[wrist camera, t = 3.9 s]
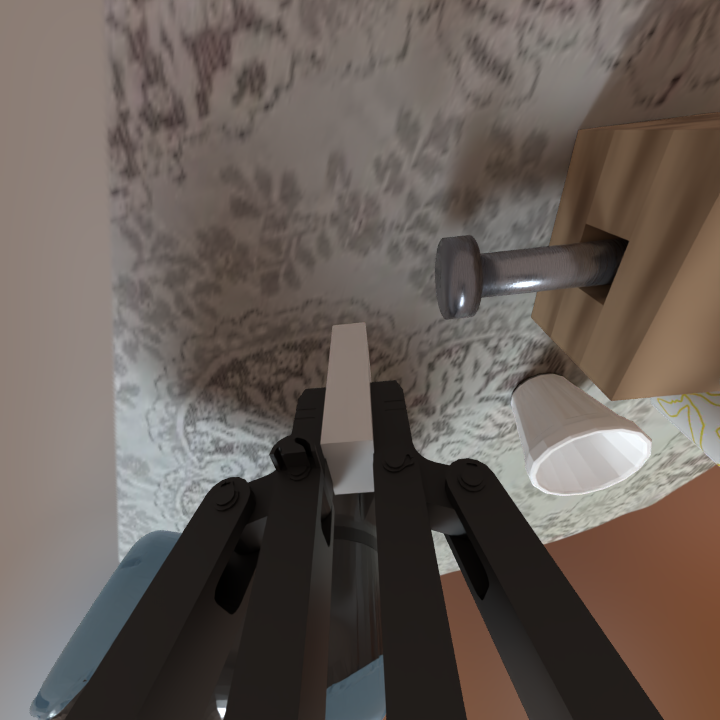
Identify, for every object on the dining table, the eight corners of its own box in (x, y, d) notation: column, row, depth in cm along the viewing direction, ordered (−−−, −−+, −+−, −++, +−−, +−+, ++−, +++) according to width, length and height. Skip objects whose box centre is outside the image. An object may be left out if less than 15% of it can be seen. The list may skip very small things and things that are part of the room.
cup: (569, 340, 30) (640, 408, 23) (597, 396, 35) (664, 468, 28) (476, 389, 34) (511, 462, 27) (513, 435, 39) (552, 507, 31)
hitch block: (530, 317, 29) (611, 400, 20) (578, 129, 20) (752, 130, 12) (642, 305, 28) (775, 386, 19) (738, 109, 20) (1046, 93, 11)
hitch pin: (433, 298, 24) (451, 334, 20) (436, 228, 21) (457, 253, 17) (627, 278, 24) (686, 310, 19) (659, 202, 20) (739, 221, 16)
